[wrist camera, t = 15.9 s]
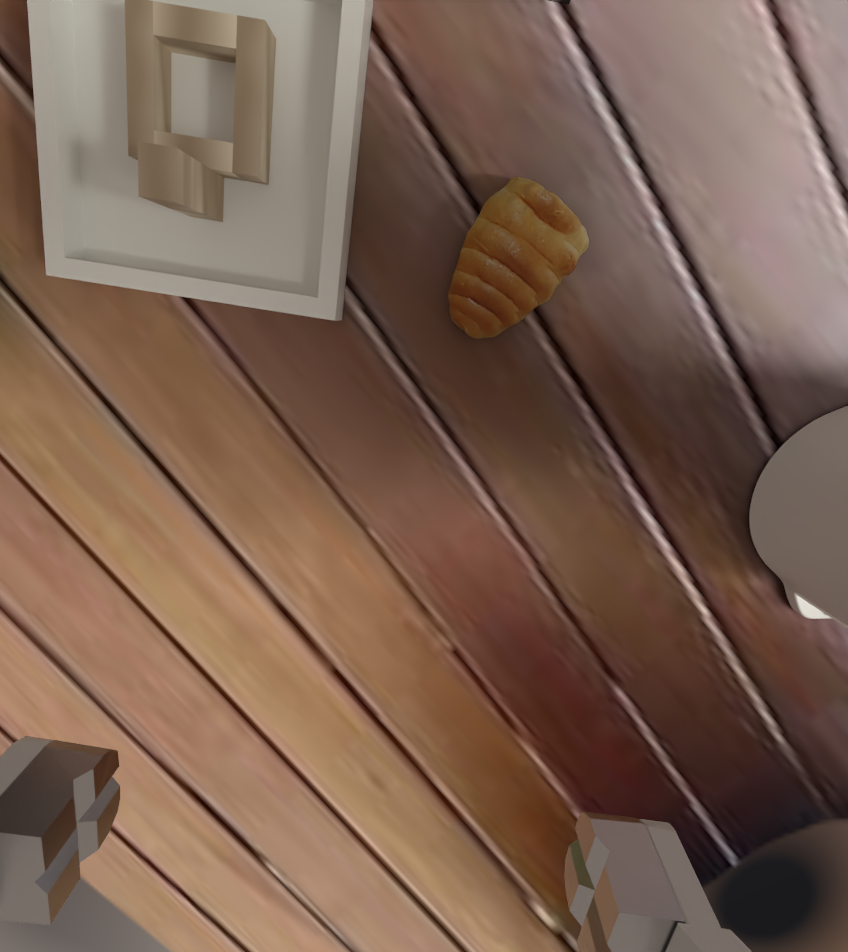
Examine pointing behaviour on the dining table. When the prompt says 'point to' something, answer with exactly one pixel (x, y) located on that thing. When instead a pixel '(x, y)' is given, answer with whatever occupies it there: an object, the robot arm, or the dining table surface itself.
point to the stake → (563, 0)
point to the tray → (212, 117)
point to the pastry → (513, 258)
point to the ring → (149, 104)
